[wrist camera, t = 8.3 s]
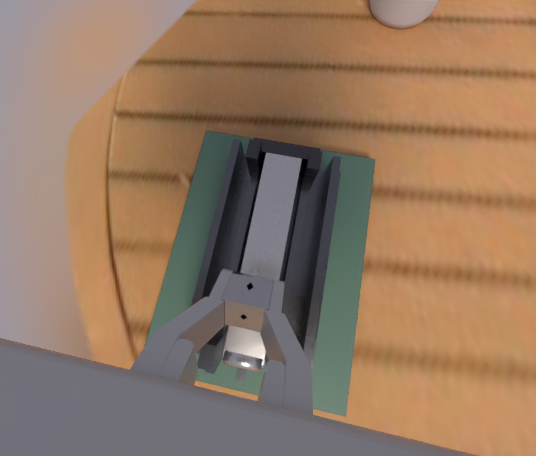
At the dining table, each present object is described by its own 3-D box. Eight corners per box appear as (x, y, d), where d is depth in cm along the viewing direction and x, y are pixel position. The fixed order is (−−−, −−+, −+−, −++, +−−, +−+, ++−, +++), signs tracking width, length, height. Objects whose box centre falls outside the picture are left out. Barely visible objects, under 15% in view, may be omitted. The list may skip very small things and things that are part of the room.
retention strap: (262, 367, 15) (261, 376, 14) (223, 358, 15) (219, 366, 14) (300, 164, 17) (302, 157, 16) (266, 158, 17) (266, 151, 16)
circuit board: (342, 408, 19) (345, 416, 18) (145, 361, 20) (139, 366, 19) (370, 163, 24) (375, 159, 23) (209, 135, 25) (206, 130, 24)
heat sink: (307, 370, 19) (326, 425, 12) (186, 342, 20) (145, 381, 13) (336, 177, 22) (362, 142, 16) (233, 159, 23) (218, 118, 17)
